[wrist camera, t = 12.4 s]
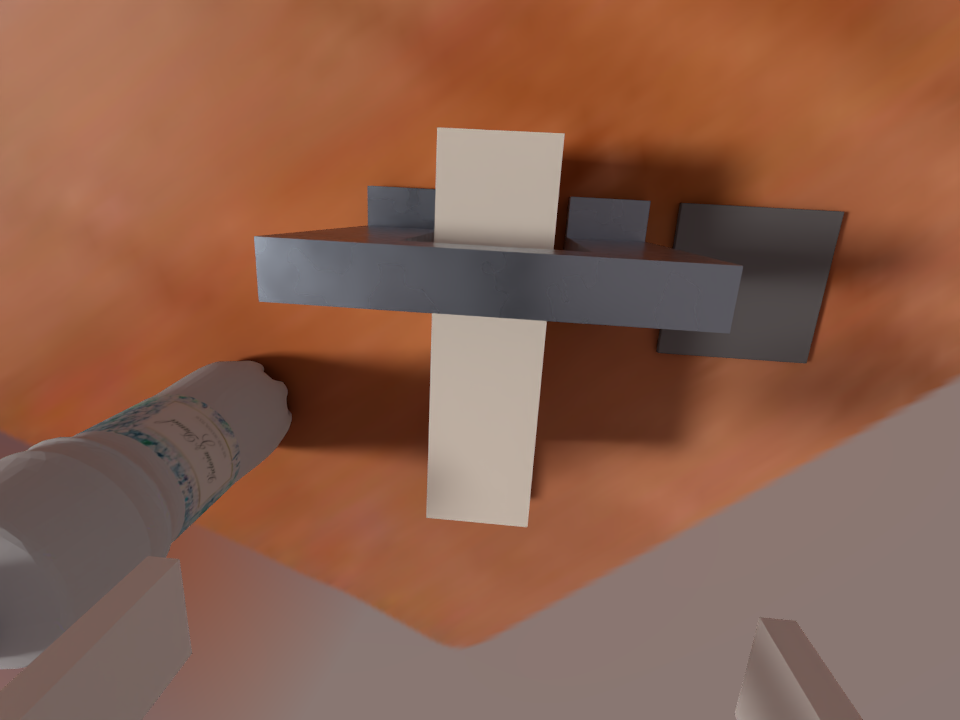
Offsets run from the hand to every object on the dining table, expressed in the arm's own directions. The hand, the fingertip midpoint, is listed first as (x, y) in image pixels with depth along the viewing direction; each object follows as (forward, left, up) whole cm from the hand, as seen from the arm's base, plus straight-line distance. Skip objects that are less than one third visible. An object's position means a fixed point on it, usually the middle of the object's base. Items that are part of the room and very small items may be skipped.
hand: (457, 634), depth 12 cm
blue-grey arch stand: (-7, 0, -19) cm, 20 cm away
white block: (-2, 0, -19) cm, 19 cm away
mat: (-6, +13, -19) cm, 24 cm away
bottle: (+3, -15, -19) cm, 25 cm away
